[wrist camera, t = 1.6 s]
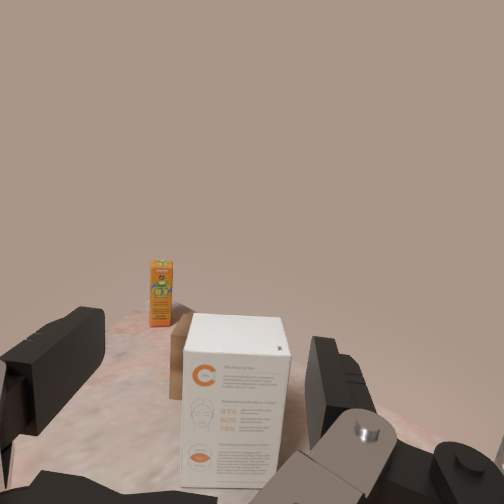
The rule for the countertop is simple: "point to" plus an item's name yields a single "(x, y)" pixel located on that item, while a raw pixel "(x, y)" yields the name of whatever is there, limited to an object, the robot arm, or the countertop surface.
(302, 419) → the countertop surface
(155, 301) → the supplement box
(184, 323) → the walnut digit block
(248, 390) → the small box
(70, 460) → the countertop surface
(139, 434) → the countertop surface
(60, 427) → the countertop surface
